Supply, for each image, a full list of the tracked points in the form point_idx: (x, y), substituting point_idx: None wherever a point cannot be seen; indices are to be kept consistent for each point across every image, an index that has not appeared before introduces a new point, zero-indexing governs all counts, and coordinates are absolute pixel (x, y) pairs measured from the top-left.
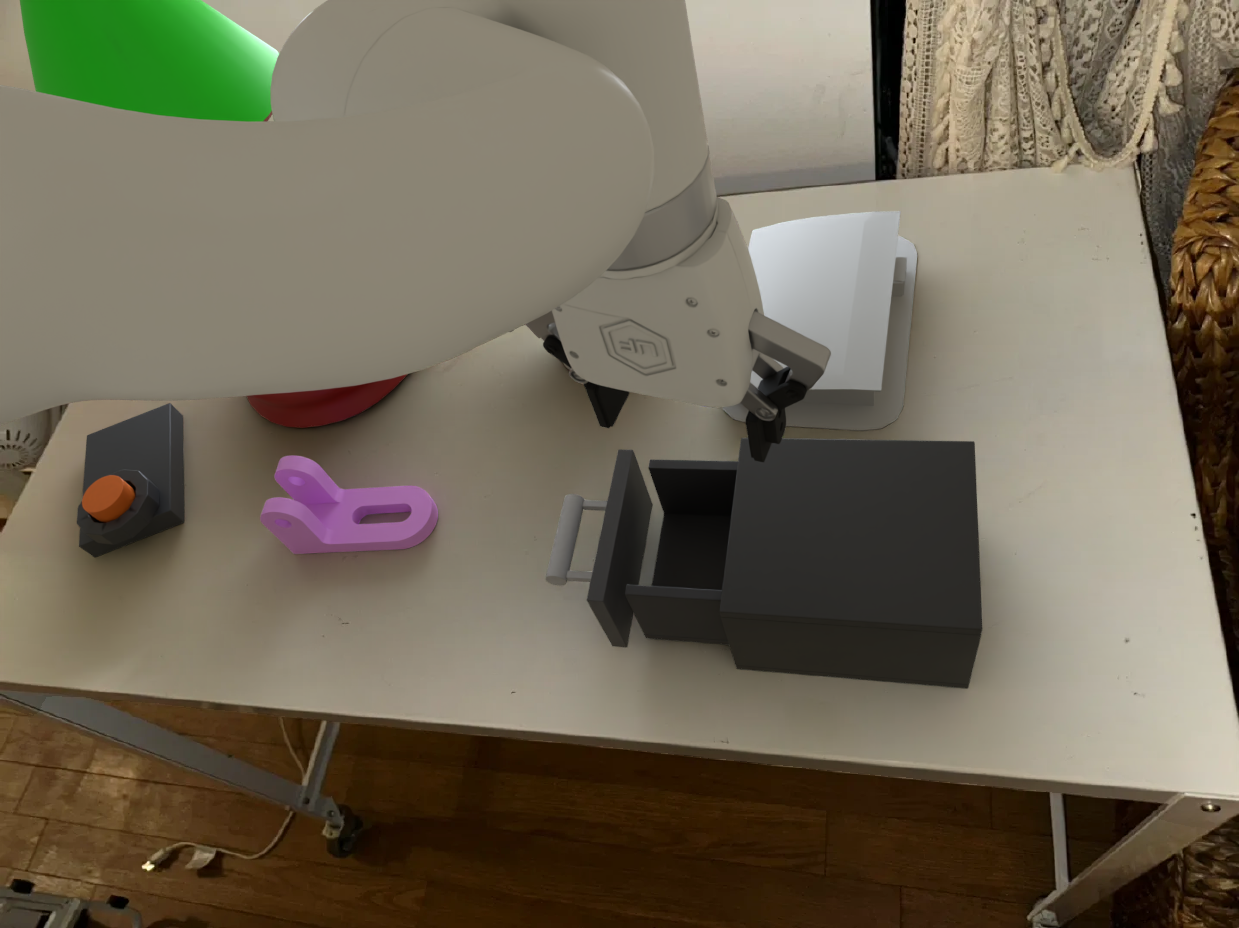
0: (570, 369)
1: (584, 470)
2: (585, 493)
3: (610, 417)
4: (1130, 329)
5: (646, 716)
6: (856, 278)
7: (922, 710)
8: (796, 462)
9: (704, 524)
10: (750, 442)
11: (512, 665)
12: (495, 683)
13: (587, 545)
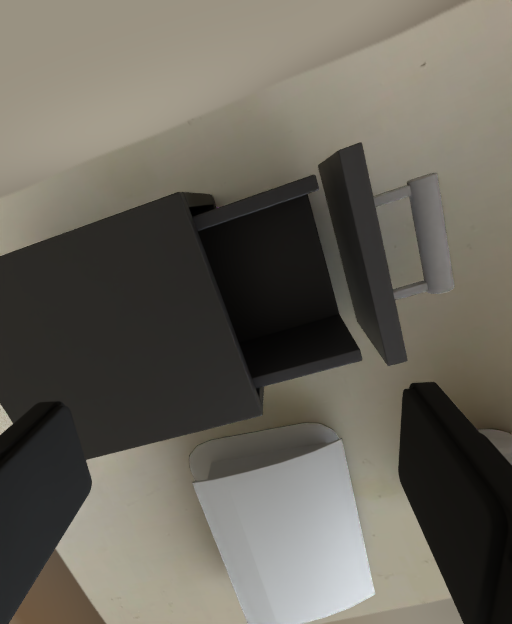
0: (503, 432)
1: (444, 335)
2: (433, 312)
3: (415, 412)
4: (74, 554)
5: (271, 108)
6: (259, 573)
7: (57, 224)
8: (189, 404)
9: (294, 316)
10: (20, 445)
11: (437, 95)
12: (449, 64)
13: (408, 259)
